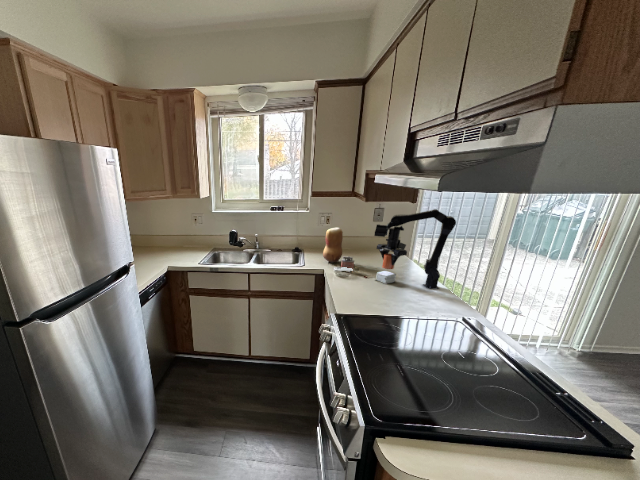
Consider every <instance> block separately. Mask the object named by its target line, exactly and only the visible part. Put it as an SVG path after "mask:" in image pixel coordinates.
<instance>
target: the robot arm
mask: <svg viewBox="0 0 640 480" xmlns="http://www.w3.org/2000/svg"><path fill="white" fill-rule="evenodd" d="M432 218H433V219H435V220H437V221H438V222H439V223H441V225H440V226H441V227H440V233H439V236H438V238H437V240H436V244H435V246H434V248H433V251H432V253H431V256H430V258H429V259H428V258H427V259H425V264H423V269H424V274H426V278H425V283H423V284H422V286H423V287H425V289H429V290H432V289H433V290H440V287H439V286H438V283H439V279H440V278H441V275H440V271H439V270H438V267H439V266H438V265H439V260H440V257H441V254H442V253H443V250H444V247H445V244H446V242H447V240H448V237H449V235H450V234H451V233H452V231H453V230H454V228H455V226H457V225H456V224H457V220H456V219H455V217H453V216H450V215H446V214H445V213H443V212H441V211H440V210H438V209H436V208H434V209H431V210H426V211H421V212H415V213H411V214H394V215H393V216H392V217H391V219H390V221H389V222H388V223H387V224H380V223H378V224H376V227H375V230H374V237H379V238H380V237H381V238H385V237H386V236H387V238H386V239H385V241H386V243H378V244H377V245H376V250H379V253H380V255H381V257H382V261H383V260H384V254H387V253H390V252H393V253H390V254H391V261H392V265H394V264H395V265H396V262H397V261H398V260H399V258H400V257H402V256H407V254H408V251H407V249H406V247H407V244H405V243H403V242H401V239H400V235H401V231H405V228H404V227H403V225H405V224H407V223H410V222H416V221H423V220H427V219H432ZM395 265H394V266H395Z"/></svg>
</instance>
